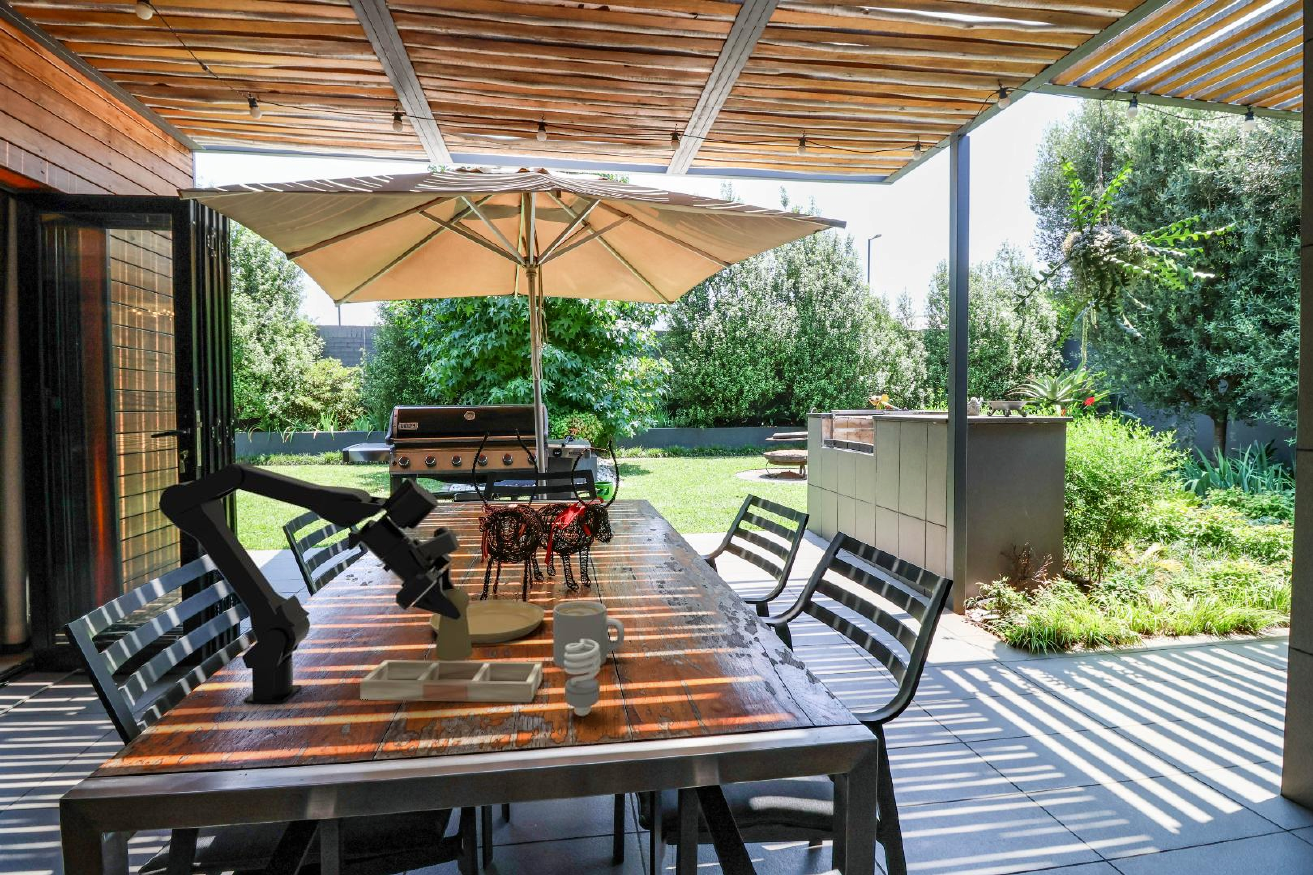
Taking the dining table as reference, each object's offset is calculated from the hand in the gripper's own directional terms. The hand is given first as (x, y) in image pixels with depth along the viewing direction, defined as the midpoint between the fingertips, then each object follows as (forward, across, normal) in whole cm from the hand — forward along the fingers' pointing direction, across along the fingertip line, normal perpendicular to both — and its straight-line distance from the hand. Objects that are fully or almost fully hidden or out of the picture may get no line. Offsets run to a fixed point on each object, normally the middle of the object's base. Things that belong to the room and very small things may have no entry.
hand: (461, 612), depth 121 cm
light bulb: (+24, -13, -5) cm, 27 cm away
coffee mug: (+24, +11, -6) cm, 27 cm away
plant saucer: (+10, +33, +9) cm, 36 cm away
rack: (+8, 0, +10) cm, 13 cm away
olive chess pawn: (+4, 0, +6) cm, 7 cm away
